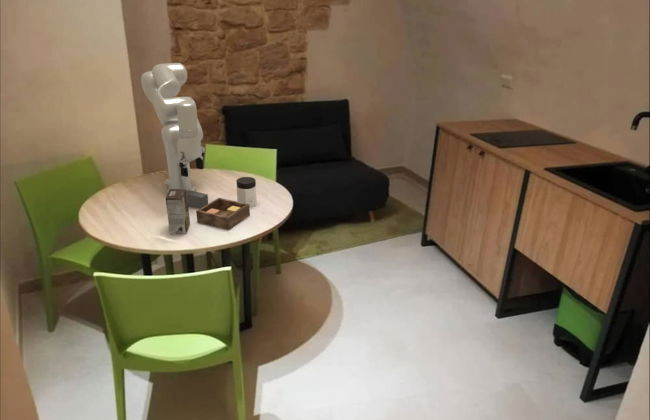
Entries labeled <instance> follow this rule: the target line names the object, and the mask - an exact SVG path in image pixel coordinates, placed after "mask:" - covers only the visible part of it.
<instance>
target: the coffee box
mask: <svg viewBox="0 0 650 420" xmlns="http://www.w3.org/2000/svg"><path fill="white" fill-rule="evenodd" d="M165 205H166V212H167V213H166V215H167V221H168V229H169V235H187V234H188V231H189V228H190V226H191V221H190V211H189V207H188V200H187V192H186V189H170V190H169V192H167V195H166V197H165Z"/></svg>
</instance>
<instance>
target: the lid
mask: <svg viewBox="0 0 650 420" xmlns="http://www.w3.org/2000/svg"><path fill="white" fill-rule="evenodd" d="M186 192H187V200H188V208H194V209H197V210H199V209H200V208H202V207H204V206H205V205H207V204H209V197H208V193H203V192H199V191H196V190H195V191H190V190H188V191H186Z"/></svg>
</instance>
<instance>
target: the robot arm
mask: <svg viewBox="0 0 650 420" xmlns="http://www.w3.org/2000/svg"><path fill="white" fill-rule="evenodd" d="M187 80H188V71H187V69H186V67H185V65H184V64H182V63H180V62H170V63H158V64H156V65H154V66H153V68H152V70H149V71H146V72H143V73H142V74H141V77H140V83H141V86H142V90H143V92H144V94H145V96H146V97H147V98H148V100H149V102H150V103H152V106H153V108H154V110H155V113H156V115H157V119H158V121H159V122H160V124H161V125H162V126H163V127H162V128H161V137H162V141H163V145H164V148H165V149H164V150H165V156H166V162H167V171H168V178H166V179H165V181H164V183H163V184H164V185H166V186H168V187H167V190H166V192H167V193H168V192H169V190H170V189H186V191H188V190H190V191H195V192H196V186H195V185H193V184H192V175H191V174H192V173H191V167H190V166H191V165H190V162H192V161H195V167H196V169H197V170H198V169H199V170H203V169H204V161H203V160H204V157H205V156H204V155H205V151H206V147H204V146H202V142H201V141H202V140H203V138H204V132H203V128H202V126H201V123H200V121H199V119H198V112H197V110H198V109H197V104H196V101H195V100H194V99H193V98H192V97H190V96H177V95H178V94H179V93H180V91H181V88H182V86H183V85H184V84H185V83H186V82H187Z"/></svg>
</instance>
